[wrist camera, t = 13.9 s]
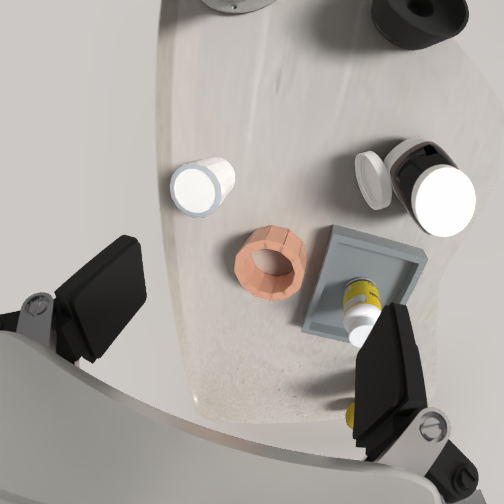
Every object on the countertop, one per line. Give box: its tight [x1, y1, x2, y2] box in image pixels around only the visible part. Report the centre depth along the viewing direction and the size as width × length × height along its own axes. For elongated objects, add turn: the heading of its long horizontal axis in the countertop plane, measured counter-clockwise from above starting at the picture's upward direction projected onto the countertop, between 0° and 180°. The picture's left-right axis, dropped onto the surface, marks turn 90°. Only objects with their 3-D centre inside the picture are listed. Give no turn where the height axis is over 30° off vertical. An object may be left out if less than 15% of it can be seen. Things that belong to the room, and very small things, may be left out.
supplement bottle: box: [343, 278, 382, 348], centre depth 35 cm, size 5×5×10 cm
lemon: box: [346, 402, 355, 429], centre depth 51 cm, size 6×6×8 cm
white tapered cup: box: [170, 157, 235, 218], centre depth 35 cm, size 7×7×7 cm
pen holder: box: [371, 0, 469, 50], centre depth 16 cm, size 9×9×10 cm
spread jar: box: [355, 137, 475, 237], centre depth 26 cm, size 12×11×12 cm
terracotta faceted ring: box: [234, 226, 307, 301], centre depth 40 cm, size 9×9×4 cm
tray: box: [301, 225, 428, 343], centre depth 39 cm, size 18×14×3 cm
